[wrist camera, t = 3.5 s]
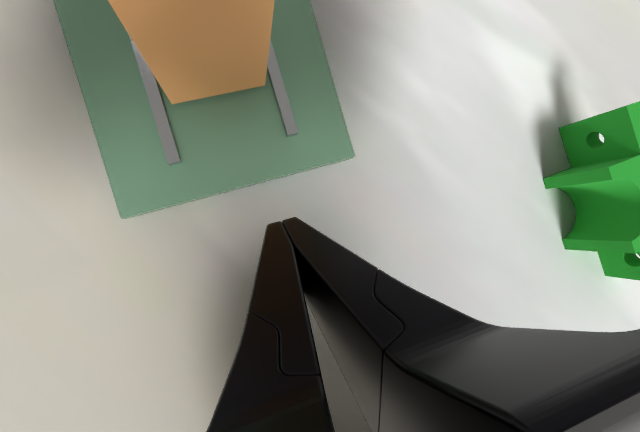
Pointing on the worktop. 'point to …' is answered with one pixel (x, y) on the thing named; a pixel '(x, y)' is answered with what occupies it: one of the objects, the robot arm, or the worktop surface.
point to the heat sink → (162, 116)
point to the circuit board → (203, 114)
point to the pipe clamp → (604, 188)
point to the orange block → (200, 43)
